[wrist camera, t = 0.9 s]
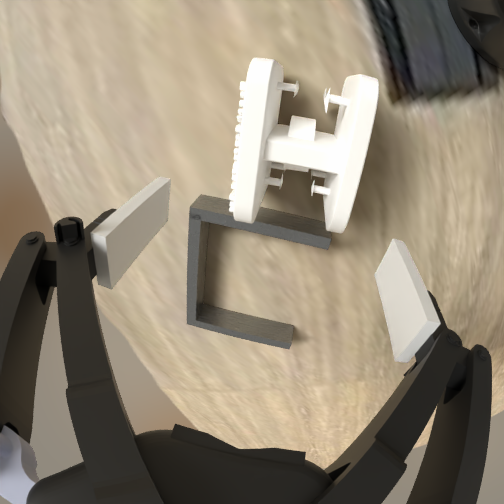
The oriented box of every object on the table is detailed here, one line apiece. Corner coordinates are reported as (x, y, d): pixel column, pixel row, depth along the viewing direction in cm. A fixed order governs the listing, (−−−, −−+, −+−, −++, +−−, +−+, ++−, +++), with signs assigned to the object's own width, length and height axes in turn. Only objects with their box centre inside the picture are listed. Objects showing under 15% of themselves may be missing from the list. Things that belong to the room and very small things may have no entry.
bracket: (329, 223, 36) (331, 239, 33) (291, 331, 48) (289, 349, 45) (200, 194, 37) (189, 207, 34) (194, 307, 49) (186, 323, 46)
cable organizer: (333, 199, 35) (342, 250, 25) (249, 183, 35) (224, 227, 26) (359, 80, 26) (385, 79, 17) (264, 62, 27) (241, 52, 17)
